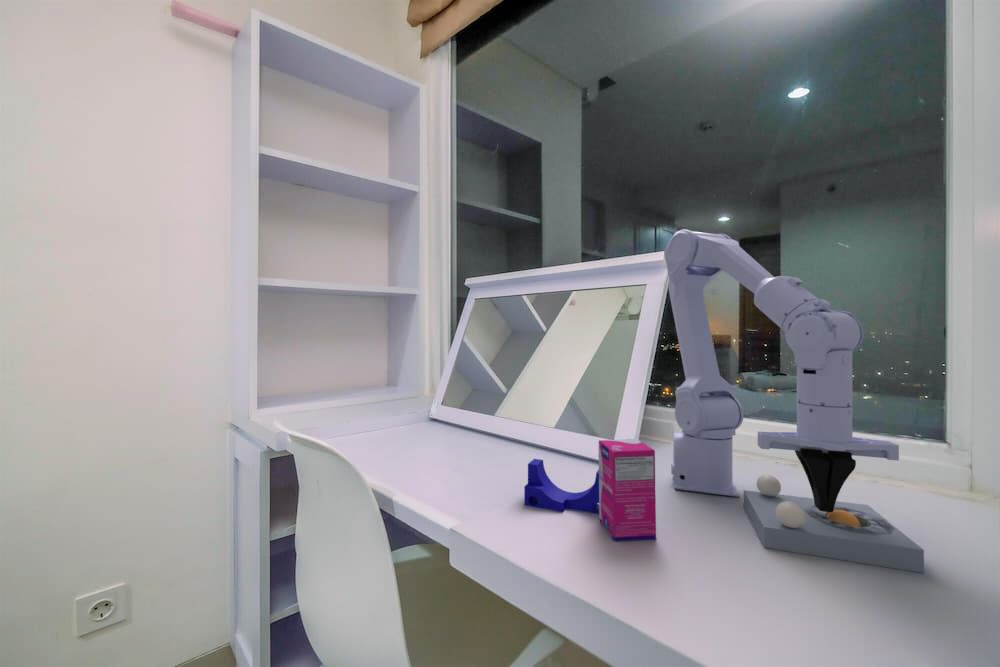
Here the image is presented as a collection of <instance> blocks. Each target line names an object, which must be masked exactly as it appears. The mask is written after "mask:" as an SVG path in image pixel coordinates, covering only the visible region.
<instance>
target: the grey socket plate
mask: <svg viewBox="0 0 1000 667" xmlns="http://www.w3.org/2000/svg"><path fill="white" fill-rule="evenodd" d="M784 501H790V502H794V503H796V504H797V505H799V506H800V507H801V508H802V509H803V511H804V513H805V516H806V519H805V522H804V524H803V525H802V526H800V527H798V528H790V527H787V526H785V525H783V524H782V523H781V522H780V521H779V520H778V518H777V516H776V507H777V506H778V504H780V503H781V502H784ZM743 509H744V510H745V513H746V515H747V516H748V517H747V518H748V519H749V521H750V523H751V524H752V526H753V528H754V530H755V532H756V534H757V537H758V539H759V541H760V542H761V544H762V546H763V548H765V549H770V550H771V549H772V550H778V551H783V552H790V553H796V554H802V555H808V556H809V555H811V556H816V557H822V558H827V559H835V560H840V561H845V562H847V561H848V562H853V563H859V564H866V565H872V566H877V567H878V566H879V567H882V568H883V567H885V568H891V569H896V570H902V571H909V572H916V573H921V574H924V573H925V550H924V549H923V548H922V547H921V546H919V545H918V544H917V543H916V542H915V541H913V539H911V538H910V537H909V536H907V535H906V534H905V533H904V532H902V531H901V530H899V529H898V528H897V527H896V526H894V525H893V524H892V523H891V522H890V521H888V520H887V519H886V518H885V517H883V516H882V515H881V514H880V513H878V511H876V510H874V509H873V508H872V507H871V506H870V505H868V504H862V503H854V502H847V501H838V500H836V502H835V506H834V510H833V511H835V510H844V511H847V512H849V513H851V514H853V515H854V516H855V517H856V518H857V519H858V521H859V523H860V525H861V527H856V526H849V525H845V524H842V523H838V522H835V521H833V520H831V519H829V518H827V516H828V515H829V513H831V512H825V511H820V510H819V509H818V508H817V507H816V506H815V503H814V497H813V498H812V497H803V496H796V495H788V494H787V495H786V494H780V493H779V494H778V495H776V496H772V497H770V496H766V495H764V494H762V493H761V492H760V491H753V490H752V491H751V490H746V489H745V490H744V489H743Z"/></svg>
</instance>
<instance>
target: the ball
mask: <svg viewBox="0 0 1000 667" xmlns="http://www.w3.org/2000/svg"><path fill="white" fill-rule="evenodd" d="M827 518H829V519H831V520H833V521H835V522H838V523H842V524H845V525H849V526H856V527H861V525H860V523H859V521H858V519H857V518H856V517H855V516H854V515H853V514H851V513H849V512H847V511H844V510H835V511H833V512H831V513H829V515H828V516H827Z"/></svg>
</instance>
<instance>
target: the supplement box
mask: <svg viewBox="0 0 1000 667" xmlns="http://www.w3.org/2000/svg"><path fill="white" fill-rule="evenodd" d="M598 470H599V503H598V504H599V514H598V515H599V522H600V523H601V525H603V527H604V528H605V530H606V532H607V533H608V534H609V535H610V537H611V539H612V540H613V541H614V542H627V541H629V542H630V541H649V540H650V541H651V540H653V541H655V540H657V508H656V507H657V506H656V505H657V504H656V503H657V502H656V497H657V496H656V451H655V449H654V448H652V447H650V446H648V445H647V444H646V443H644V442H643V441H641V440H640V439H637V438H623V439H622V438H621V439H600V440H598Z"/></svg>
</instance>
